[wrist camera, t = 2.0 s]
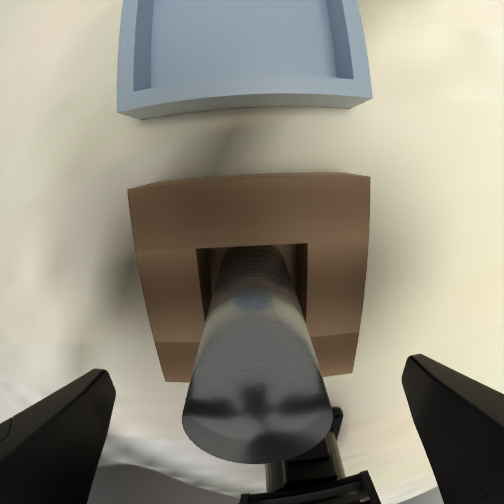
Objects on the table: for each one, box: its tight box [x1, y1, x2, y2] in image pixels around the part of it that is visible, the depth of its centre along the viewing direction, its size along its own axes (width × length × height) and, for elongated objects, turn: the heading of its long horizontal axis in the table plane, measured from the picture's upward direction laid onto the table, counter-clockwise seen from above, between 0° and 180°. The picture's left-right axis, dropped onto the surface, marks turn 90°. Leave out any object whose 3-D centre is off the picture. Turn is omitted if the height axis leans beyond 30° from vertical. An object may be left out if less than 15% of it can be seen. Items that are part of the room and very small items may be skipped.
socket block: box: [127, 173, 370, 382], centre depth 14 cm, size 10×10×4 cm
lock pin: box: [182, 245, 333, 464], centre depth 11 cm, size 4×4×10 cm
